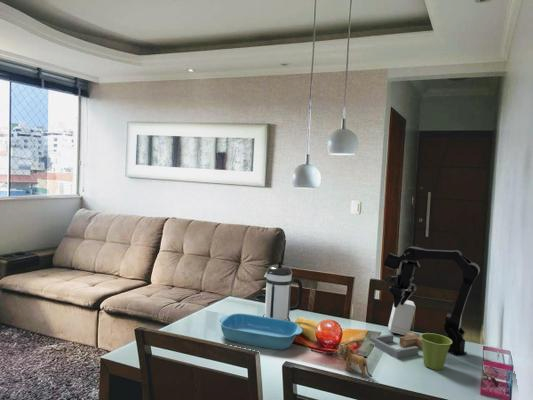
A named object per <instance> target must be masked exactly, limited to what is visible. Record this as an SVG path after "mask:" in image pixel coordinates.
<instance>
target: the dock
mask: <svg viewBox="0 0 533 400" xmlns="http://www.w3.org/2000/svg"><path fill="white" fill-rule="evenodd" d="M368 338H369V339H368V341H369V340H370V341H372V342H373V343H375V348H377V349H378V350H380V351H382V352H383V353H385V354H386V355H389V356H391V357H393V358H394V359H396V360H399V359H400V358H406V357H412V356H417V355H419V348H418V347H417V346H413V347H408V348H402V347H401V348H395V347H392V346H391V345H389V343H394V338H395V337H394V334H392V333H390V334H383V335H377V336H369V337H368Z"/></svg>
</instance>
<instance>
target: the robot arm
mask: <svg viewBox="0 0 533 400" xmlns="http://www.w3.org/2000/svg"><path fill="white" fill-rule="evenodd" d="M424 259H430V260H446V261H447V260H451V261H454V263H455V264H456V265H457V266H458V267H459V269H461V270H462V278H461V279H462V282H461V286H460V289H459V291H458V295H457V298H456V300H455V303H454V306H453V310H452V312H451V313H447V314H446V316H445V321H444V323H443V324H442V325H443V326H444V327H443V330H444V332H445V333H446V334H447V338H449V339H451V340H452V344H450V348H449V349H448V353H449V354H452V355H454V356H456V357H457V356H463V355H467V352H466V351H465V349H466V348H465V346H466V339H464V337H465V335H466V331H465V330H464V329H463V328H462V318H463V317H462V316H463V313H464V310H465V305H466V303H467V300H468V297H469V295H470V291H471V289H472V285H473V284H474V282H475V280H476V279H477V277H478V275H479V273H480V272H481V268H480V266H479V264H477V263H475V262H472V261H471V260H470V259H469V258H467V257H466V256H465V255H464V254H463V253H462V252H461V251H460V250H457V249H455V250H445V249H442V250H441V249H427V248H423V247H418V246H409V247H407V248H405V250H404V251H403V254H401V255H396V254H393V253H391V252H389V253H387V256H386V258H385V260H384V263H383V267H385V268H387V269H390V270H394V271H398V270H399V273H398V274H397V275H391V274H386V275H385V277H384V281H385V284H386V285H389V284H393V285H390V286H389V287H388V290H387V292H389V293H390V294H391V295H392V296H393V304H394V307H395V308H397V306H398V305H399V303H400V302H401V303H400V304H401V305H403V304H404V303H405V302H406V301H407V300H409V298H410V297H411V296H412V294H414V292H416V291H417V288H418V287H417V285H416V284H415V283H412V282H413V280H414V279H415V277H414V273H415V270H416V268H420V267H421V264H420V263H419V261H418V260H424ZM406 260H407V261H406Z"/></svg>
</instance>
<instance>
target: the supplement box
mask: <svg viewBox="0 0 533 400" xmlns="http://www.w3.org/2000/svg"><path fill="white" fill-rule="evenodd" d="M400 303H401V302H400ZM400 303H399V305H398V306H397V308H395V307H394V303H393V304H392V309H391V313H390V316H389V321H388V325H387V326H388V330H389V332H391V333H395V334H399V335H402V336H405V333H408V332H411V327H412V323H413V319H414V314H415V311H416V305H415V302H414V301H412V300H409V299H407V301H406V302H405V303H404V304H403V305H401V304H400Z"/></svg>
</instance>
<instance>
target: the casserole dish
mask: <svg viewBox="0 0 533 400" xmlns="http://www.w3.org/2000/svg"><path fill="white" fill-rule="evenodd" d="M218 321H219V322H220V327H221V332H222V335H223V336H224V337H225V339H227V340H228V341H230V342H234V343H238V344H243V345H249V346H255V347H260V348H264V349H272V350H286V349H288V348H289V347H290V346H291V345H292V344H293V342H294V340H295V339H296V337H297V336H300V335H301V334H302V333H303V331H304V330H303V328H302V327H301V326H300V324H299V323H297V322H295V321H292V320H290V321H289V320H288V319H287V320H281V319H275V318H269V317H265V316H264V317H263V315H256V314H250V313H241V312H240V313H232V314H230V315H225V316H222V317H220V319H219V320H218Z"/></svg>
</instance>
